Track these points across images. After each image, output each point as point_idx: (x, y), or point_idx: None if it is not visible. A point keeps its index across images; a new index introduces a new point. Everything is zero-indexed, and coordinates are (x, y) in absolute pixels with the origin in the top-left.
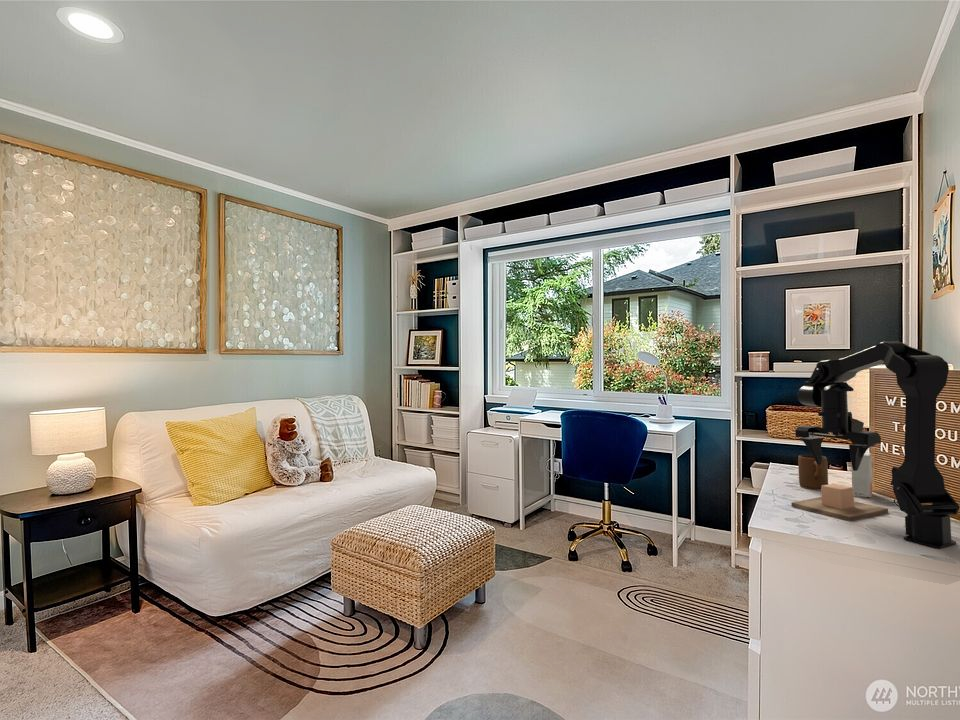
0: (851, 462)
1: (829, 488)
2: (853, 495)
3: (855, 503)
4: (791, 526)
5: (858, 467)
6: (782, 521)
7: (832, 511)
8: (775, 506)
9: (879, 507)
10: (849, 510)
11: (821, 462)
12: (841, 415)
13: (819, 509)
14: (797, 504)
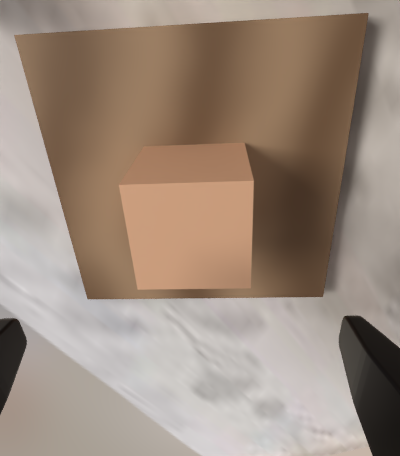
0: (368, 440)
1: (186, 285)
2: (249, 164)
3: (207, 71)
4: (255, 425)
5: (380, 334)
6: (214, 413)
7: None
8: (77, 327)
9: (326, 32)
10: (273, 222)
11: (6, 329)
12: None
13: (204, 297)
14: (113, 297)
